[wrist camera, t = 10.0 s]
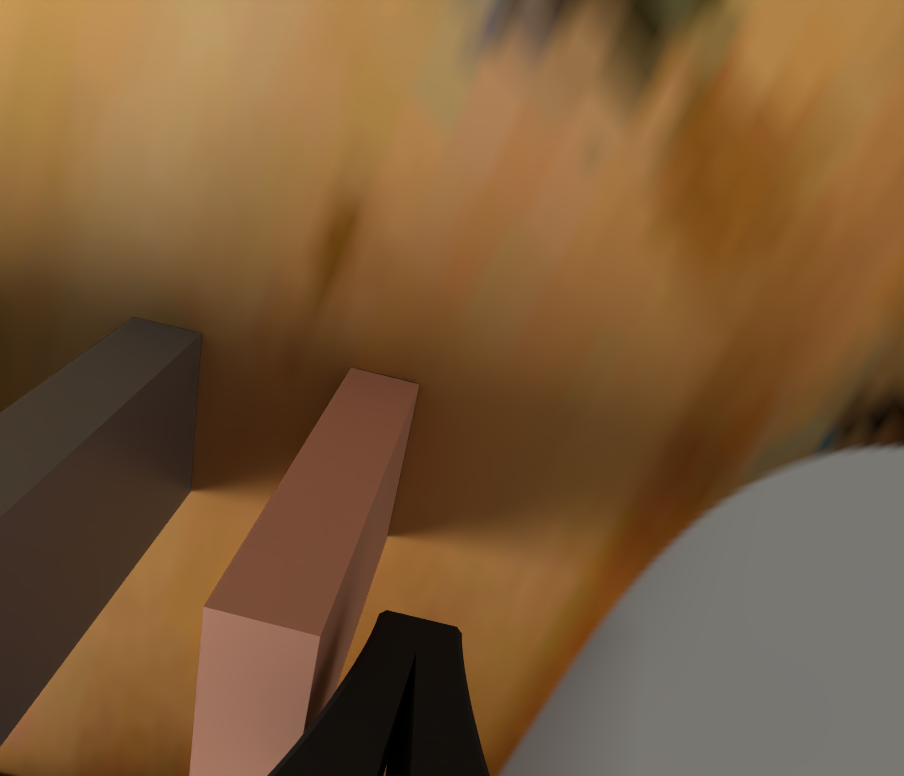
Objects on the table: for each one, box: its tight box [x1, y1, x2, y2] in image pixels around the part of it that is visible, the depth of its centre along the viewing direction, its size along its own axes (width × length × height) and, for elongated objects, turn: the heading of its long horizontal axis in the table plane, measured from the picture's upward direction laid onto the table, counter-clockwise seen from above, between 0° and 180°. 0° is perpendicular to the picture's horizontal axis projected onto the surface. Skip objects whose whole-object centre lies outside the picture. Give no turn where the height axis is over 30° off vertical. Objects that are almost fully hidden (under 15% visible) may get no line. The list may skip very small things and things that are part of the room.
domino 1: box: [0, 317, 202, 746], centre depth 15 cm, size 4×2×8 cm, turn 168°
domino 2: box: [189, 368, 419, 776], centre depth 15 cm, size 4×2×8 cm, turn 168°
